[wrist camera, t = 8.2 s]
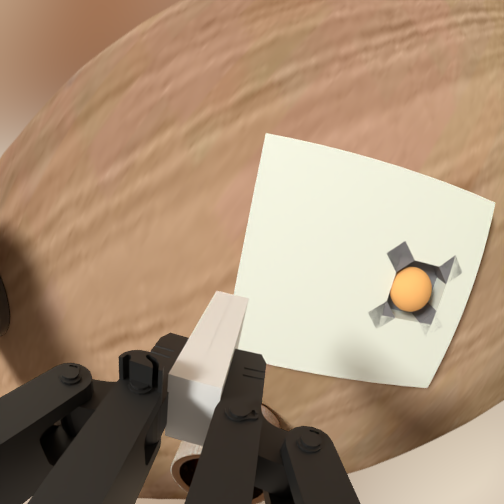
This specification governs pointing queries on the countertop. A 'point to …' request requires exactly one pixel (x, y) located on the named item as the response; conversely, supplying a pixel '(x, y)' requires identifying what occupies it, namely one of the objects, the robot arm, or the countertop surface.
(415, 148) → the countertop surface
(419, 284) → the ball
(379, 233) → the plate
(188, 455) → the planter
